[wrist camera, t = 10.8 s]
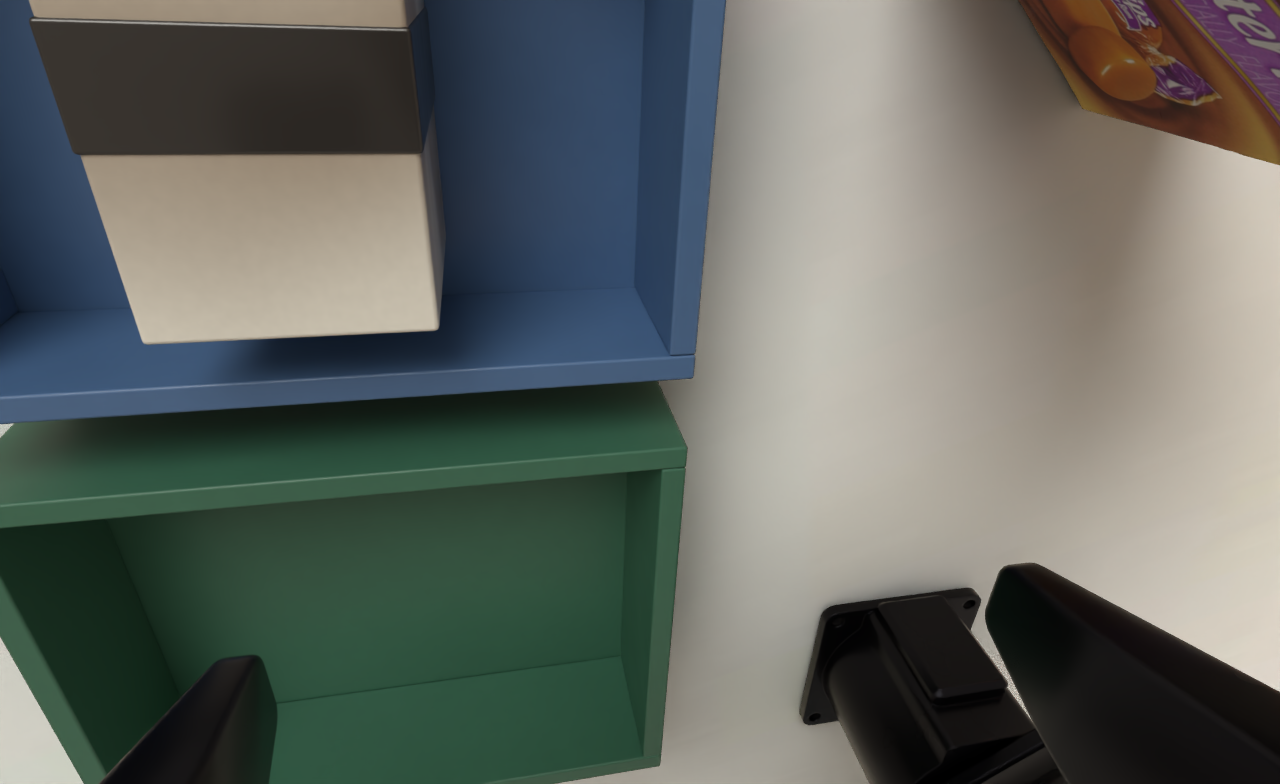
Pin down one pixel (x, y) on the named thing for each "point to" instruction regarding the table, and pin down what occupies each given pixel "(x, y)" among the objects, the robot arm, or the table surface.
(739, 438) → the table surface
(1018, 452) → the table surface
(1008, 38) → the table surface
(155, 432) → the green tote
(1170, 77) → the candy box
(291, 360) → the blue tote
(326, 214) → the parcel
